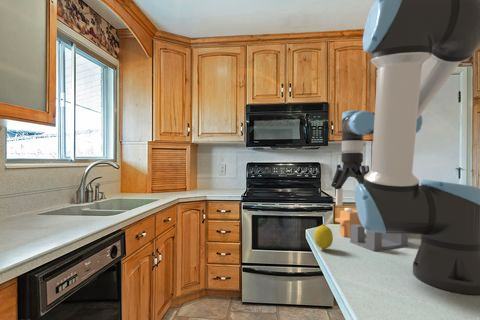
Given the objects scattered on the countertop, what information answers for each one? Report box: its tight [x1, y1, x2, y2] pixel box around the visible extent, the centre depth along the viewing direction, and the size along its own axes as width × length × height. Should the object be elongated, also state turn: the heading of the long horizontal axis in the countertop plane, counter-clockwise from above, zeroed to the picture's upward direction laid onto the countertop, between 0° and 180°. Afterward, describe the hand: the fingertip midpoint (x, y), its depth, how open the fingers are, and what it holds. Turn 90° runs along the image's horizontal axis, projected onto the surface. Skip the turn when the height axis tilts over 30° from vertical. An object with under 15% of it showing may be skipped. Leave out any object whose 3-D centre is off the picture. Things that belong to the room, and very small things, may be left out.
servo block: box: [334, 207, 362, 239], centre depth 104 cm, size 5×12×10 cm, turn 112°
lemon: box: [313, 224, 334, 251], centre depth 87 cm, size 6×6×8 cm
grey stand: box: [349, 224, 409, 252], centre depth 93 cm, size 10×15×6 cm, turn 112°
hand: (351, 208), depth 104 cm, fingers open, 13 cm apart
